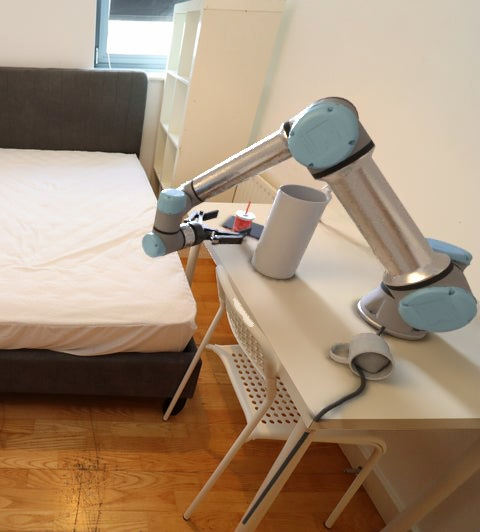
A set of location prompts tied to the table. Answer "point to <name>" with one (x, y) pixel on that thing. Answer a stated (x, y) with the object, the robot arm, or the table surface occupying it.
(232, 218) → the felt mat
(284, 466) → the robot arm
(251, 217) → the beverage cup
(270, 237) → the cylinder vase
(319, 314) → the table surface
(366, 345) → the ceramic mug
